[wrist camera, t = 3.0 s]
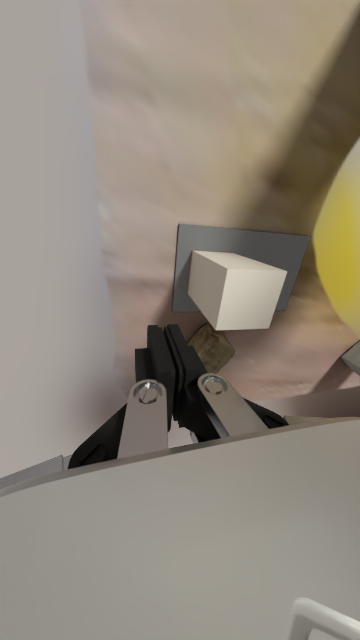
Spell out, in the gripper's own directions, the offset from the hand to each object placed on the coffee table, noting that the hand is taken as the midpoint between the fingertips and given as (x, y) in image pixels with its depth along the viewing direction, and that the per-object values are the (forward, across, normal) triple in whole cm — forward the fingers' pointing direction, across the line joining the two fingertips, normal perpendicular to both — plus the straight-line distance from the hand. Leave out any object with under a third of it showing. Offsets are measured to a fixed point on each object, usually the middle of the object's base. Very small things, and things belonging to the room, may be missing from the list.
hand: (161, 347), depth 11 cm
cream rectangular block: (+17, -10, -1) cm, 20 cm away
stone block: (+18, -9, +13) cm, 24 cm away
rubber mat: (+17, -15, -1) cm, 23 cm away
